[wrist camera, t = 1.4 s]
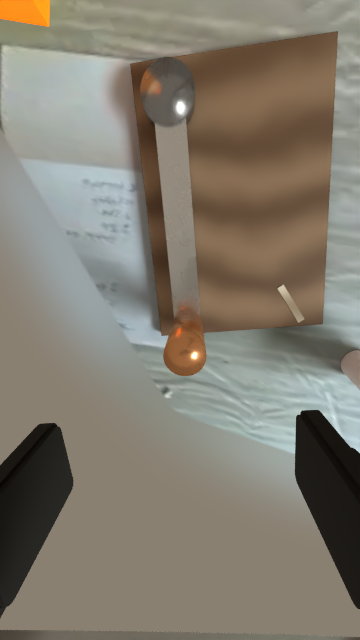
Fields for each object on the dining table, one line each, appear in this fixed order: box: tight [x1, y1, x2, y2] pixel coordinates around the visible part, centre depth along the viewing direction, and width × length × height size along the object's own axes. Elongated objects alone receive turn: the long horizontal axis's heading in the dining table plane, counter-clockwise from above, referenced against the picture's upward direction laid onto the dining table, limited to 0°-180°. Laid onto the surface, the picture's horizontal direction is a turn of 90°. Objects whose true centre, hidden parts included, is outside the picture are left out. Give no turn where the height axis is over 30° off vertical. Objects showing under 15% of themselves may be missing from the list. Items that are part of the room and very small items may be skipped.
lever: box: [140, 57, 206, 376], centre depth 21 cm, size 26×5×12 cm, turn 5°
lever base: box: [130, 31, 338, 336], centre depth 27 cm, size 28×20×1 cm
